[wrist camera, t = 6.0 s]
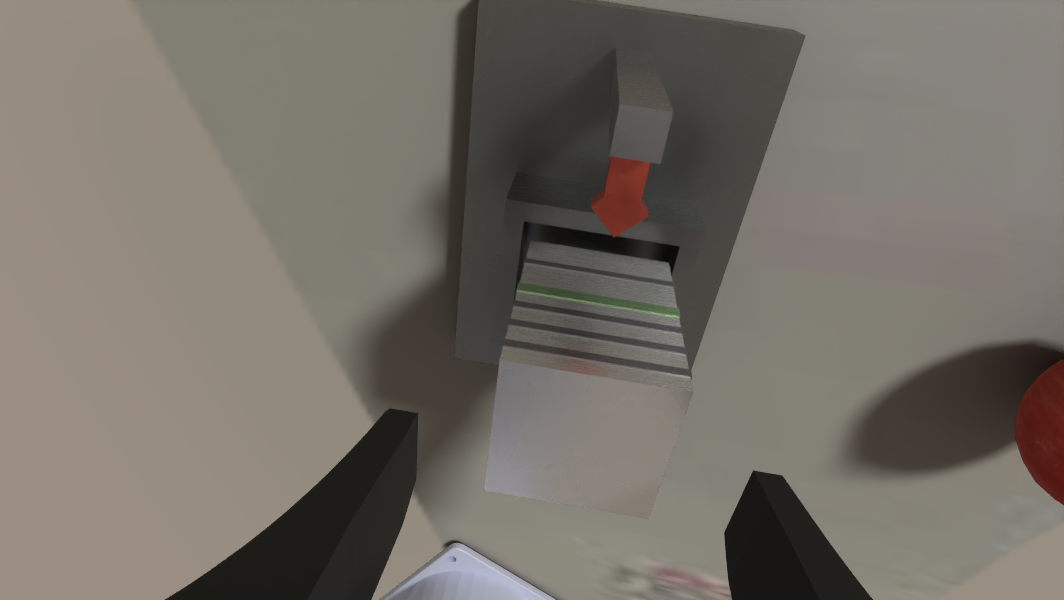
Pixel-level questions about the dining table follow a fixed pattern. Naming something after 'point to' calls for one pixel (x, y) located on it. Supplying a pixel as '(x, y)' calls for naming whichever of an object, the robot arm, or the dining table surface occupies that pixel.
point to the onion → (1044, 430)
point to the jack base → (612, 147)
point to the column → (589, 382)
